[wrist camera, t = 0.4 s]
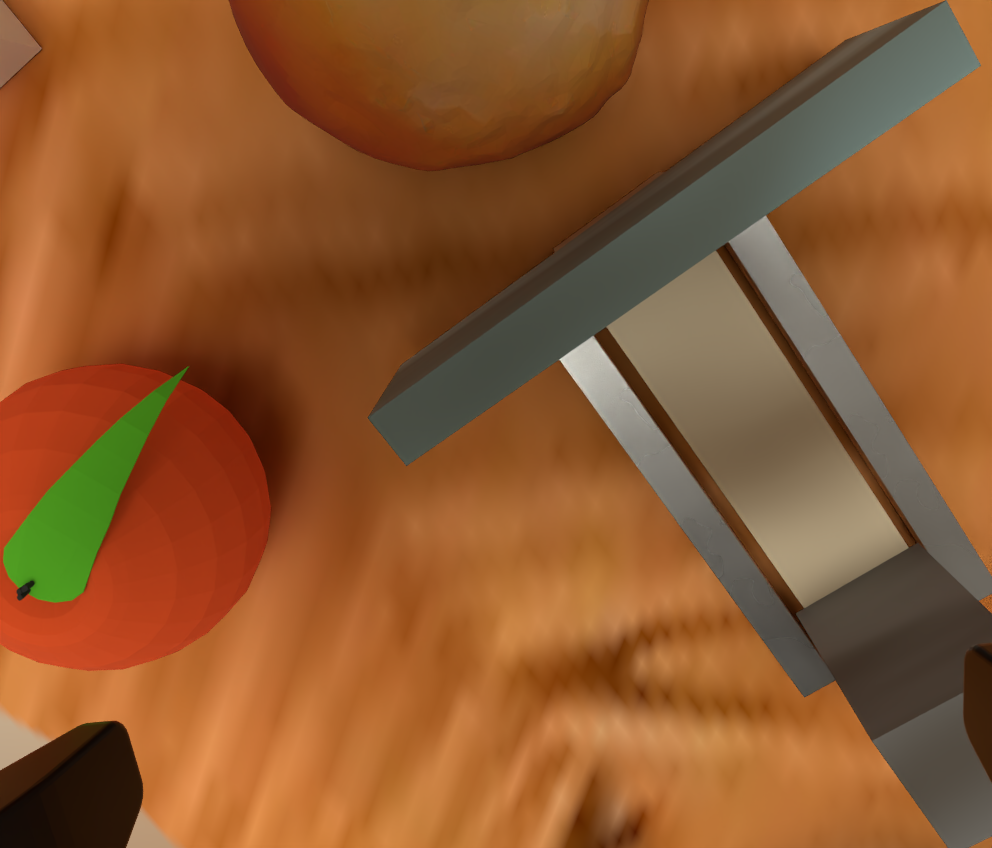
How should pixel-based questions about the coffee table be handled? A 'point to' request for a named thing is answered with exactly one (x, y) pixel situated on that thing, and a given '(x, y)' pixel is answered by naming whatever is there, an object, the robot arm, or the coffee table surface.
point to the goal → (14, 44)
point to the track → (850, 405)
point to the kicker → (755, 394)
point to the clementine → (122, 516)
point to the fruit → (443, 70)
